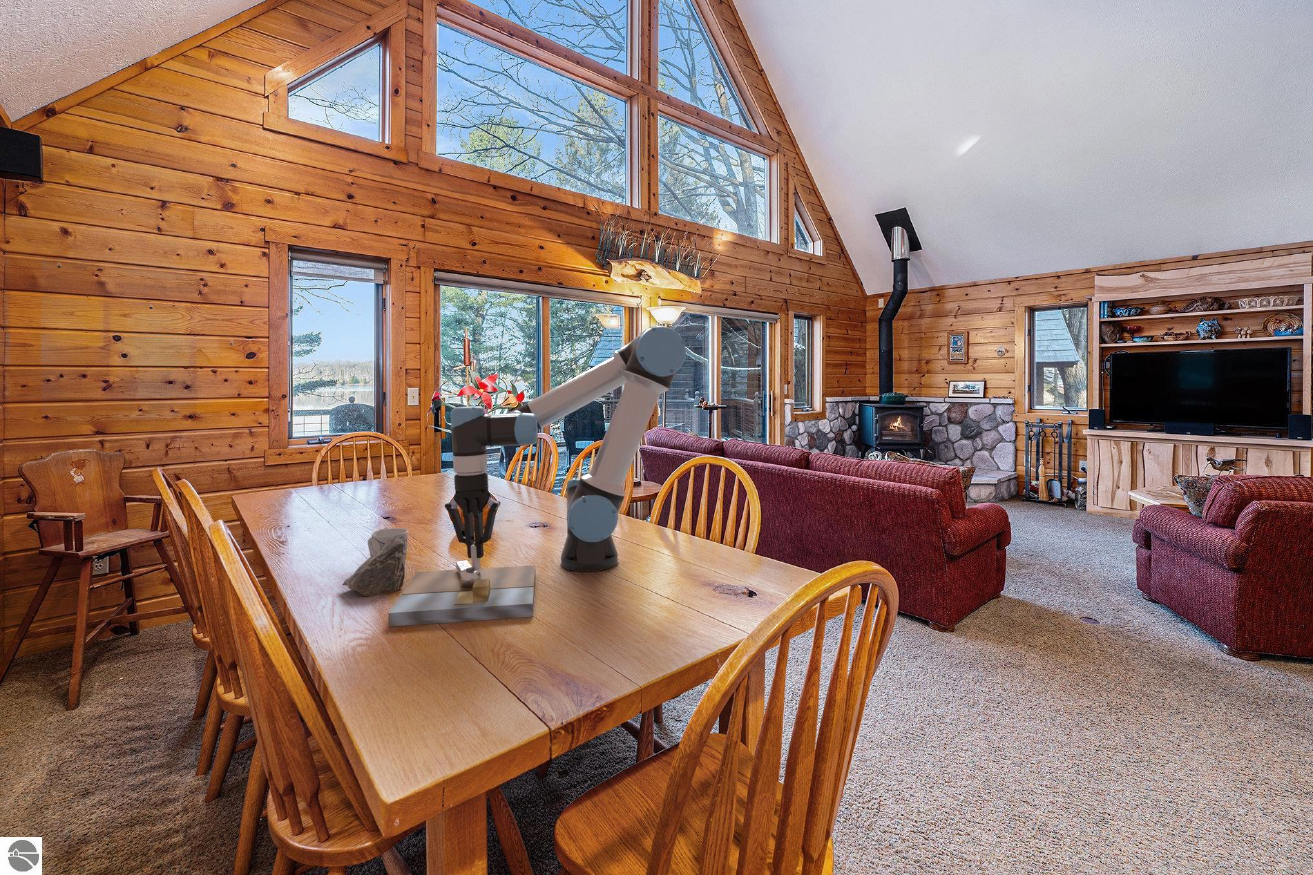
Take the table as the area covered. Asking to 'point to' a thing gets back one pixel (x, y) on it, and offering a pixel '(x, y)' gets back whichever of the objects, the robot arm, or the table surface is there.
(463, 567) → the latch bar
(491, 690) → the table surface
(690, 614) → the table surface
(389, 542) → the rock
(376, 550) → the mug
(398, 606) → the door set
